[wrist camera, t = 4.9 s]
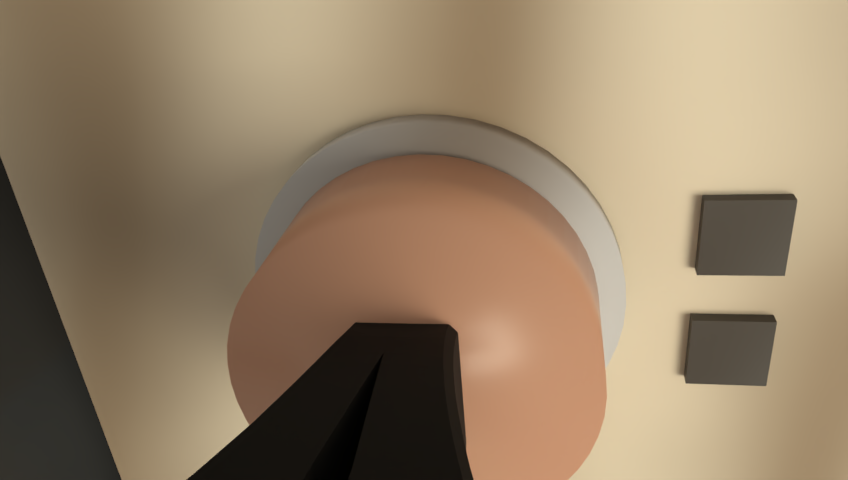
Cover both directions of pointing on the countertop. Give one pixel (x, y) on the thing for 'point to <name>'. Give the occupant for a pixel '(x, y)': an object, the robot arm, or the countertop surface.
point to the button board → (462, 138)
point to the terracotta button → (440, 303)
